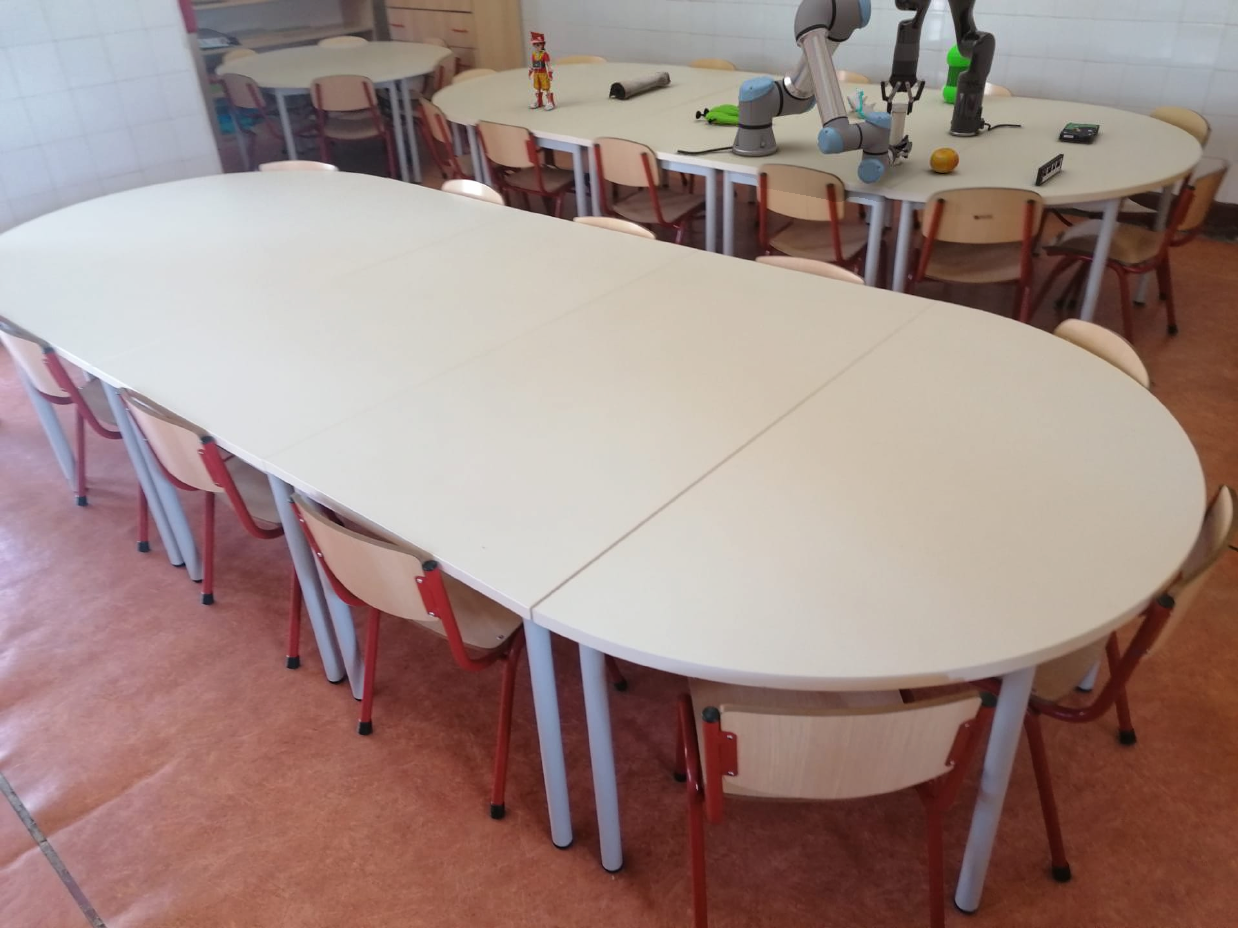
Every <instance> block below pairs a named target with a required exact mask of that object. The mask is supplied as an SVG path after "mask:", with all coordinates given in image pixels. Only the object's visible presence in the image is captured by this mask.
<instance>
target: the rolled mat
mask: <svg viewBox="0 0 1238 928" xmlns="http://www.w3.org/2000/svg"><path fill="white" fill-rule="evenodd" d="M671 83H672V81H671V77H670V74H669V72H668V71H658V72H654V73H649V74H645V75H640V76H637V77H633V78H628V79H623V80H620V81H616V82H613V83H612V84H611V85H610V89H609V95H608V97H609V98H611V97H616V99H620V100H622V101H623V100H626V99H627V98H629V97H630V96H632V95H635V94H636V93H638V92H640V91H643V90H644V89H647V88H650V87H655V86H658V87H659V86H661V87H665V86H669V85H670V84H671Z"/></svg>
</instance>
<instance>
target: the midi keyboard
mask: <svg viewBox="0 0 1238 928" xmlns="http://www.w3.org/2000/svg"><path fill="white" fill-rule="evenodd" d="M1064 157H1065V153H1059V154H1058V155H1056V156H1055V157H1052V159H1051V160H1049V161H1047V162H1045V164H1042V165H1041V166H1039V167H1038V169H1037V175H1036V179H1035V186H1040V185H1042V183H1044V182H1045V181H1047V180H1048V179H1049V178H1051V177H1052V176H1054V175H1055V174H1056V173H1058V172H1060V171H1061V170H1062V165H1063V161H1064Z"/></svg>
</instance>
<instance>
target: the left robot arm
mask: <svg viewBox="0 0 1238 928" xmlns="http://www.w3.org/2000/svg"><path fill="white" fill-rule="evenodd" d="M871 1H872V0H801V2H800V4H799V5H798V8H797V9H796V12H795V17H794V22H793V32H794V33H793V34H794V38H795V43H796V45H797V47H799V48H801V50H802V54H801V56H800V57H799V59H798V61H797V62H796V64H795V66H794V67H792V68H790V69H789V70H787V71H786V72H785V74H784V76H783V77H782V79H778V80H775V79H774V78H773V77H772V76H757V77H753V78H749V79H746V80H745V81H743V82H742V83H741V84H740V86H739V89H738V90H739V91H738V105H739V118H738V124H737V126H738V127H737V131H736V134H735V137H734V140H733V143H732V145H731V146H723V147H717V148H711V149H706V150H700V151H687V150H681V149H677V150H676V151H677V153H679V154H683V155H684V154H685V155H694V156H695V155H703V154H708V153H709V154H710V153H714V152H715V153H716V152H721V151H727V150H732V153H733V154H736V155H737V156H742V157H764V156H769V155H773V154H775V152H777V145H778V144H777V141H776V137H775V133H774V129H773V118H779V117H780V118H781V117H786V116H793V115H802V114H805V113H808V112H810V111H811V110H813V109H814V108H815V106H816V107H817V111H818V115H819V118H820V122H821V125H822V128H821V129H820V131H819V132H818V134H817V141H818V142H817V146H818V150H819V151H820V152H821V153H822V154H824V155H838V154H842V153H847V152H852V151H860V150H862V153H861V162H860V163H859V164H858V167H857V176H858V178H859V180H860V181H861V182H863V183H865V184H867V185H868V184H869V185H870V184H875V183H877V182H878V181H880V180H881V179H882V178H883V177H884V176H885V174H886V173H887V171H888V170H889V169H890V167H891V166H892V164H893V163H894V161H895V160H896V158H898V157H899V156H900V157H901V158H903V159H909V154H910V153H911V151H912V148H913V141H910V139H909V136H910V135H909V134H905V135H904V136H903V139H902V142H901V143H899V144H897V145H893V146H892V145H890V144H889V139H890V133H891V125H892V117H891V115H890V114H889V113H887V111H886V112H885V111H874V112H871V113H868V114H867V115H866V118H864V121H862V122H856V123H850V120H849V117H848V113H847V108H846V106H845V101H844V98H843V94H842V89H841V87H840V83H839V80H838V79H839V78H838V76H837V72H836V68H835V65H834V60H833V55H834V54H835V53H836V51H837V50H838V48H839V46H840V45H841V43H844V42H846V41H848V40H849V39H850V38H851V36H852V34H853V33H854V32H855V30H857V29H859V30H861V29H864V28H865V27H867V26H868V25H869V23H870V19H871V15H872V2H871Z"/></svg>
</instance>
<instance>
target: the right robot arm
mask: <svg viewBox="0 0 1238 928" xmlns="http://www.w3.org/2000/svg"><path fill="white" fill-rule="evenodd" d="M931 3H932V0H894V6H895V7H896V9H897V10H898V11H902V12H915V14H914V17H912V18H906V19H905V18H904V19H902V20H901V21H899V22H898V24H897V31H896V40H895V45H894V49H893V55H892V56H893V57H892V65H891V73H890V76H889V78H888V79H887V78H886V79H881V80H880V82H879V83H880V94H881V100H882V101H883V102H886V110H885V111H886V113H889V114H890V115H891V114H892V110H891V109H892V104H893V100H894V98H895V96H896V94H897V93H906V94H907V96H908V97H907V98H908V101H907V104H908V110H907V111H906V116H909V115H910V114H912V112H913V107H914V103H915V102H919V101H920V99H921V96H922V94H923V91H924V88H925V86H926V80H925V79H924V78H923V79H919V78H918V77H917V73H918V64H919V57H920V50H921V49H920V48H921V45H920V43H921V36H922V29H923V25H924V21H925V19H926V15H927V12H928V10H929V8H930V5H931ZM947 3H948V7H949V10H950V14H951V18H952V22H953V28H954V34H955V41H956V44H957V48H958V51H959V54H960V55H961V57H963V58H965V59H967V60H971V62H970V66H969V69H968V70H967V71H963V72H961V73H960V74H959V77H958V83H957V90H956V96H955V103H953V110H952V115H951V120H950V129H949V134H950V135H952V136H956V137H973V136H979V131H980V130H984V129H985V126H986V127H987V130H988V131H992V130H994V129H996V128H999V127H1013V128H1021V127H1022V124H1013V123H1012V124H1011V123H1010V124H1009V123H1001V124H996V125H993V126H991V124H990V123H988V122H986V120H985V118H984V117H982V115H983V109H984V107H983V102H984V96H985V90H986V83H987V79H988V77H989V74H990V73H991V69H992V65H993V61H994V56H995V51H996V44H997V43H996V37H995V35H994V34H993V33H992V32H989V31H984V30H979V29H978V28H977V25H976V21H975V18H974V9H975V5H976V3H977V0H947ZM889 84H890V86H891V90H890V93H889V95H887V93H886V92H887V91H886V88H887V87H888V85H889ZM916 84H917V85H916ZM915 85H916V86H917V87H918V88H917V91H916V94H915V95H914V96H913V92H912V88H913V87H914V86H915Z"/></svg>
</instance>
